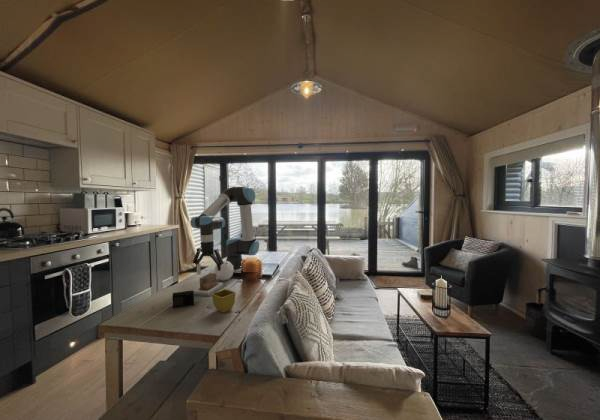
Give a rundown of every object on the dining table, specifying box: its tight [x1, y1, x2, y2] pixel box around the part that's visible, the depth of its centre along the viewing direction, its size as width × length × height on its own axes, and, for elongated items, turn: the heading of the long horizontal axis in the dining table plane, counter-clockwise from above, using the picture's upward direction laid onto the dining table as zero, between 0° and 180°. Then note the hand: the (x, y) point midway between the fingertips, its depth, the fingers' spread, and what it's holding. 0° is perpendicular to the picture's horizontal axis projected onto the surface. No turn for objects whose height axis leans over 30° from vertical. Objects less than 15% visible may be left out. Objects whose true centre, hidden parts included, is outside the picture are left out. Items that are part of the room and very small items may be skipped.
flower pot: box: [211, 288, 237, 314], centre depth 140 cm, size 9×9×9 cm
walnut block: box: [199, 272, 218, 291], centre depth 170 cm, size 4×11×8 cm, turn 165°
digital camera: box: [172, 289, 195, 309], centre depth 146 cm, size 10×5×7 cm, turn 111°
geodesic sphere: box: [213, 260, 235, 281], centre depth 189 cm, size 14×14×14 cm
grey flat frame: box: [193, 282, 228, 297], centre depth 170 cm, size 20×14×2 cm
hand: (208, 275), depth 170 cm, fingers open, 13 cm apart
